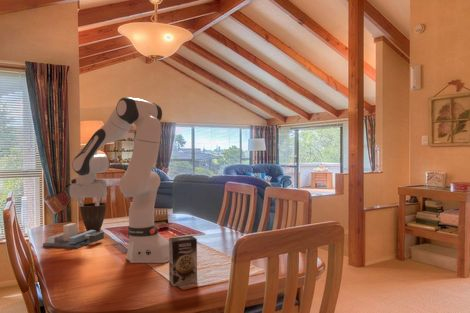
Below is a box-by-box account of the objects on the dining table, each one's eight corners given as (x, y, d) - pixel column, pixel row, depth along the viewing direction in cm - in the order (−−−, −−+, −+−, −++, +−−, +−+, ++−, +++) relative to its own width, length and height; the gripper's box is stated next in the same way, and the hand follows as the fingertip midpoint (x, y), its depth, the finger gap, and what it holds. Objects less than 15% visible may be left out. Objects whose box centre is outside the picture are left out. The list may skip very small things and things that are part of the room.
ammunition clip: (151, 229, 218) (151, 210, 217) (150, 229, 219) (150, 209, 219) (168, 227, 222) (168, 208, 222) (167, 227, 224) (167, 208, 224)
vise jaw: (109, 236, 195) (109, 229, 195) (88, 245, 178) (88, 238, 178) (91, 235, 198) (91, 229, 198) (68, 243, 181) (68, 237, 180)
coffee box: (173, 287, 127) (172, 241, 126) (169, 281, 133) (168, 237, 132) (198, 282, 130) (197, 238, 130) (192, 277, 136) (192, 234, 136)
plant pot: (97, 227, 228) (97, 201, 227) (112, 229, 219) (111, 203, 218) (75, 231, 215) (74, 205, 215) (89, 234, 207) (89, 207, 206)
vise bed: (101, 238, 198) (101, 230, 198) (77, 248, 178) (76, 239, 178) (70, 236, 203) (69, 228, 202) (43, 246, 183) (42, 237, 183)
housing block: (77, 238, 193) (76, 223, 193) (69, 241, 187) (68, 225, 187) (71, 237, 194) (71, 223, 194) (63, 240, 188) (63, 225, 188)
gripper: (108, 178, 187) (110, 204, 188) (74, 179, 192) (76, 205, 192) (101, 179, 181) (103, 206, 182) (66, 180, 186) (68, 207, 186)
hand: (89, 206), depth 187 cm, fingers open, 8 cm apart
